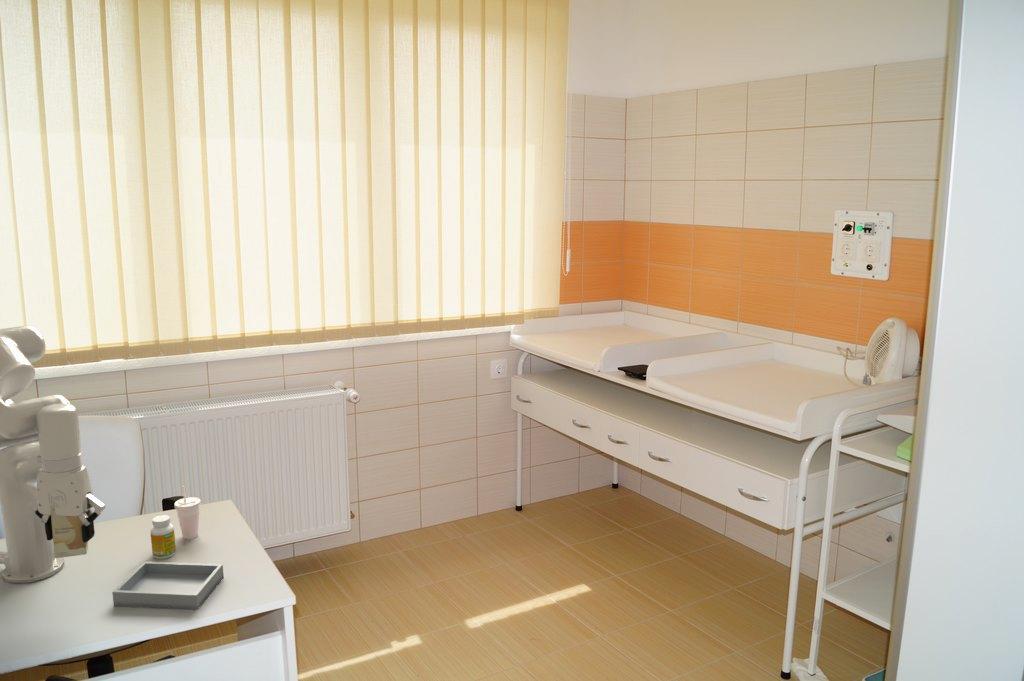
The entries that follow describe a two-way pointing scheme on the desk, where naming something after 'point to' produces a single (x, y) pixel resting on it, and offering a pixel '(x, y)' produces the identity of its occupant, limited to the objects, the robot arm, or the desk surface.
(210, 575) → the tray
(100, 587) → the desk surface
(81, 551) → the skincare box
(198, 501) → the smoothie
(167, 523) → the supplement bottle
